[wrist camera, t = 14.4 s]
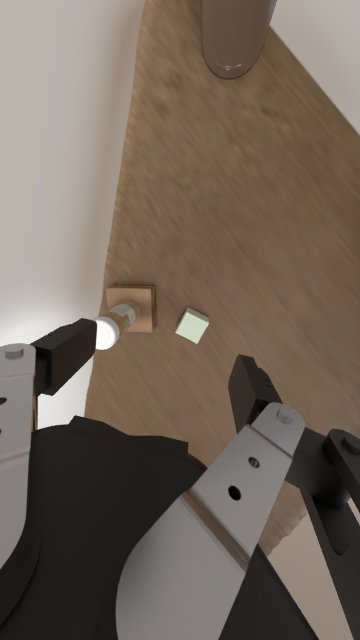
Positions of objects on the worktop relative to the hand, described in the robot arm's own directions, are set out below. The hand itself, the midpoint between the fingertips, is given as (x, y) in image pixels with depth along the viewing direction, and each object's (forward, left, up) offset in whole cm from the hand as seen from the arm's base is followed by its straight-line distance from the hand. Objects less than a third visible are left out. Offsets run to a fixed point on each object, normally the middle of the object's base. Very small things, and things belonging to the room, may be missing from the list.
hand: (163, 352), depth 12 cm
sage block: (+9, +2, -33) cm, 34 cm away
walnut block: (+8, -11, -33) cm, 35 cm away
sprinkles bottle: (+8, -11, -29) cm, 32 cm away
